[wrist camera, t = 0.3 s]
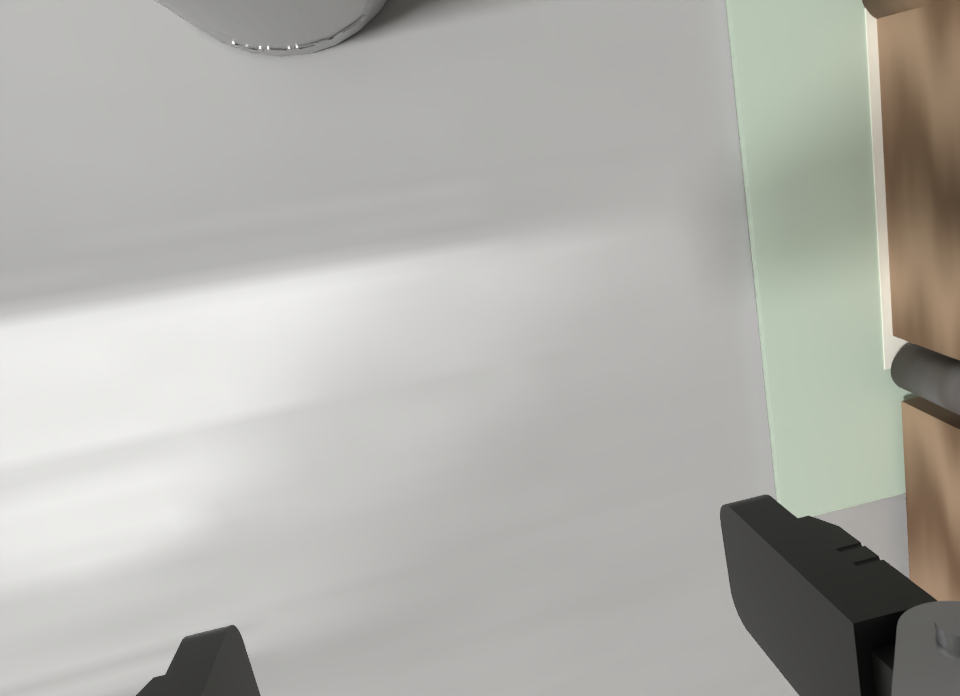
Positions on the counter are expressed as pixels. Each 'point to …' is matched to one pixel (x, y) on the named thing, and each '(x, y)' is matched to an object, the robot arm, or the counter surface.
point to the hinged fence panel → (931, 467)
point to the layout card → (819, 248)
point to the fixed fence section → (922, 166)
